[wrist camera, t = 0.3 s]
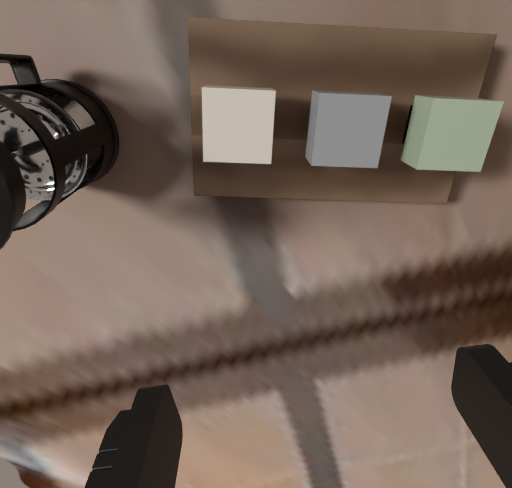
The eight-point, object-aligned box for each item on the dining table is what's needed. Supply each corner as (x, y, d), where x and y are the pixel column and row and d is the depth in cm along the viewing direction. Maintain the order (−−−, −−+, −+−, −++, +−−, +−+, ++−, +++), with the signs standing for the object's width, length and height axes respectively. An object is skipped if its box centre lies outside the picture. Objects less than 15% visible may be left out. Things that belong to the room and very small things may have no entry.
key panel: (193, 21, 29) (187, 17, 27) (474, 37, 30) (497, 34, 28) (197, 185, 35) (194, 195, 33) (431, 193, 37) (446, 203, 34)
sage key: (401, 92, 30) (434, 98, 24) (459, 95, 30) (503, 101, 25) (388, 153, 32) (416, 169, 27) (442, 155, 32) (480, 171, 27)
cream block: (209, 83, 29) (201, 87, 24) (270, 86, 29) (275, 90, 24) (209, 146, 31) (203, 161, 26) (266, 148, 31) (271, 164, 26)
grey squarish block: (306, 88, 29) (319, 92, 24) (366, 91, 29) (391, 96, 24) (300, 149, 31) (311, 165, 26) (355, 151, 32) (377, 168, 26)
